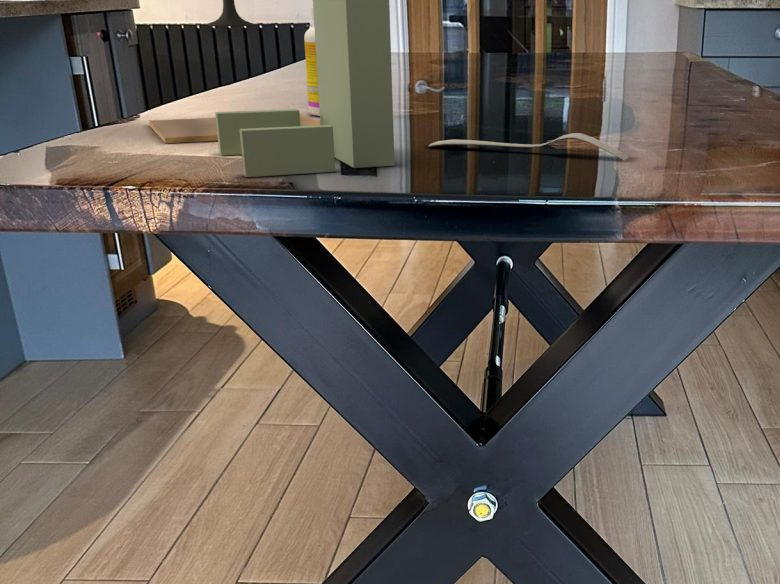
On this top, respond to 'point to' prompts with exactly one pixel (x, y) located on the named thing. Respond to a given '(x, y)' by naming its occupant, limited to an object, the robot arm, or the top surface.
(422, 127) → the top surface
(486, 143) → the fork
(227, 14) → the dark grey goblet
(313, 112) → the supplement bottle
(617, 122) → the top surface
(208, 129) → the cork mat
